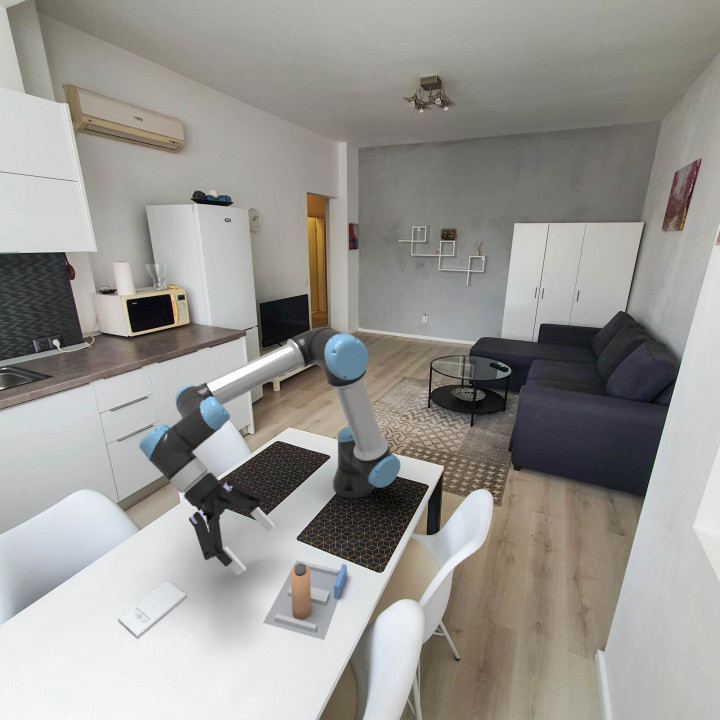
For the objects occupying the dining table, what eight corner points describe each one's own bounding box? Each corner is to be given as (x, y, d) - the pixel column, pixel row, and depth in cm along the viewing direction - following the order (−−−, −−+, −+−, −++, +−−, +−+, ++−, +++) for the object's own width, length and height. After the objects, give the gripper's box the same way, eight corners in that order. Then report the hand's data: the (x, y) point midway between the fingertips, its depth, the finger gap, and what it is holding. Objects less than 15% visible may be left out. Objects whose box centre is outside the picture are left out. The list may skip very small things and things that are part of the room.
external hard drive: (187, 599, 96) (138, 641, 86) (167, 584, 100) (118, 622, 90) (186, 594, 95) (136, 635, 85) (166, 579, 99) (117, 617, 89)
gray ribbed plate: (263, 626, 89) (262, 609, 87) (296, 563, 106) (296, 548, 105) (324, 643, 85) (323, 626, 84) (348, 576, 103) (348, 560, 101)
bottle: (306, 600, 94) (305, 557, 90) (313, 614, 90) (312, 571, 87) (289, 608, 92) (287, 565, 88) (296, 623, 88) (294, 578, 85)
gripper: (219, 462, 101) (273, 520, 102) (146, 526, 78) (216, 600, 79) (235, 448, 99) (290, 507, 99) (165, 508, 76) (237, 586, 76)
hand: (258, 549), depth 89 cm, fingers open, 13 cm apart
